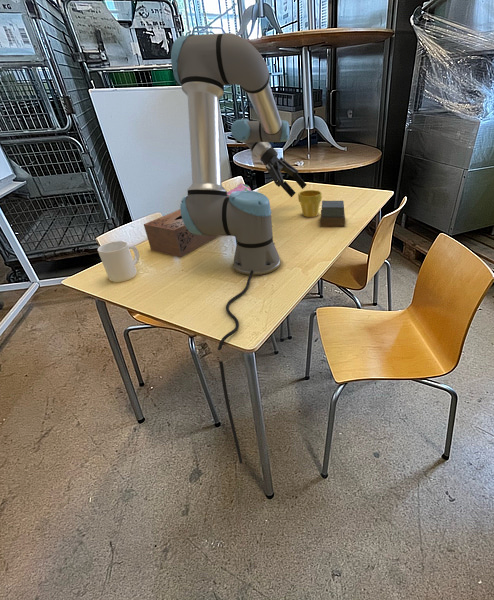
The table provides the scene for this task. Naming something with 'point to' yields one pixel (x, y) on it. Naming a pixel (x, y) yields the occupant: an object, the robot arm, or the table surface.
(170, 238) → the tissue box cover
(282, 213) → the table surface
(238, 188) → the pencil case
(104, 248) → the mug
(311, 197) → the flower pot
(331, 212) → the top block
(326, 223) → the base block
